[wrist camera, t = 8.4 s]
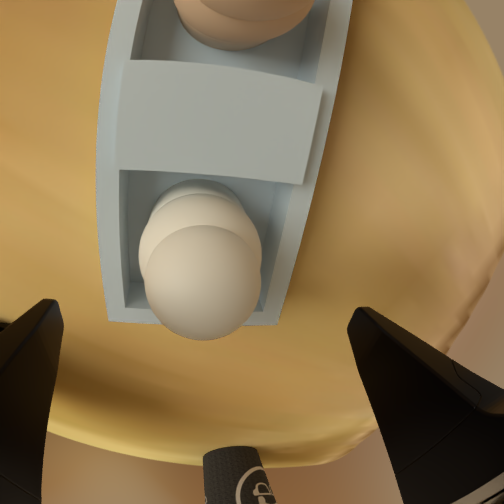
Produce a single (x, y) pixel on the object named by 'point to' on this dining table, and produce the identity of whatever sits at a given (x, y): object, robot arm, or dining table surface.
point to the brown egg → (240, 20)
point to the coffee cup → (235, 477)
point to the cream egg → (200, 260)
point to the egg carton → (211, 136)
